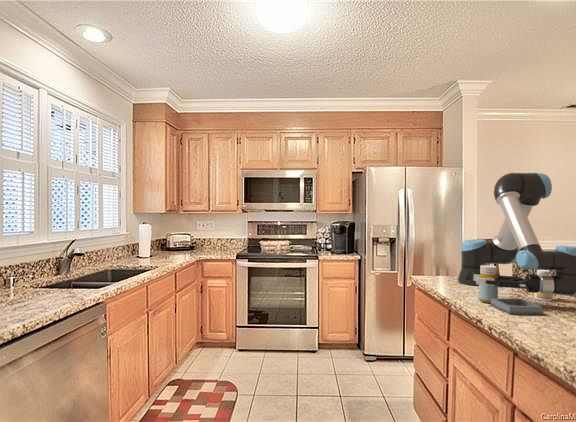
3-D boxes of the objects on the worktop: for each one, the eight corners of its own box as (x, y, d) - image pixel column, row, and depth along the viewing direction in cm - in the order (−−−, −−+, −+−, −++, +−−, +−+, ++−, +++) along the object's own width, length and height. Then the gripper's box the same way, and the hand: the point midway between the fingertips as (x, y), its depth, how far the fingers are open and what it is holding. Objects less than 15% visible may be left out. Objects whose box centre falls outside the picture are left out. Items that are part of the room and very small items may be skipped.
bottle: (481, 298, 155) (482, 264, 154) (499, 301, 150) (500, 266, 149) (476, 301, 150) (476, 266, 150) (494, 304, 145) (495, 268, 145)
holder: (490, 305, 144) (490, 298, 144) (521, 305, 144) (521, 298, 144) (509, 314, 131) (509, 306, 131) (542, 315, 131) (542, 307, 131)
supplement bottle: (556, 302, 150) (556, 272, 150) (538, 301, 152) (539, 271, 152) (547, 298, 157) (548, 269, 157) (531, 297, 158) (531, 268, 158)
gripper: (546, 298, 134) (478, 293, 142) (530, 287, 153) (471, 283, 161) (546, 279, 134) (479, 274, 142) (531, 270, 153) (472, 267, 161)
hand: (475, 279), depth 151 cm, fingers closed on bottle, 7 cm apart
